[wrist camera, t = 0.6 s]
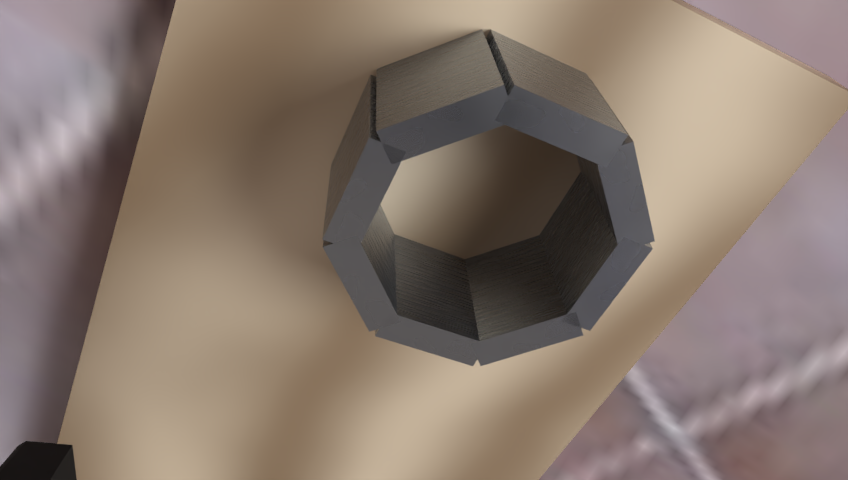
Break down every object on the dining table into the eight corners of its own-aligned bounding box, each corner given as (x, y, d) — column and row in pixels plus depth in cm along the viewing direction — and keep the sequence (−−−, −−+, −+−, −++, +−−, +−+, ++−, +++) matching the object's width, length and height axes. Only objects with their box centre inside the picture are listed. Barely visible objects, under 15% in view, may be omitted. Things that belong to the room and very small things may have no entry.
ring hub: (657, 106, 15) (711, 171, 13) (522, 304, 18) (546, 388, 16) (407, -9, 14) (413, 40, 11) (303, 228, 17) (289, 310, 14)
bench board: (829, 77, 17) (858, 96, 16) (429, 576, 27) (432, 607, 26) (247, -225, 13) (235, -224, 12) (48, 496, 23) (34, 528, 22)
